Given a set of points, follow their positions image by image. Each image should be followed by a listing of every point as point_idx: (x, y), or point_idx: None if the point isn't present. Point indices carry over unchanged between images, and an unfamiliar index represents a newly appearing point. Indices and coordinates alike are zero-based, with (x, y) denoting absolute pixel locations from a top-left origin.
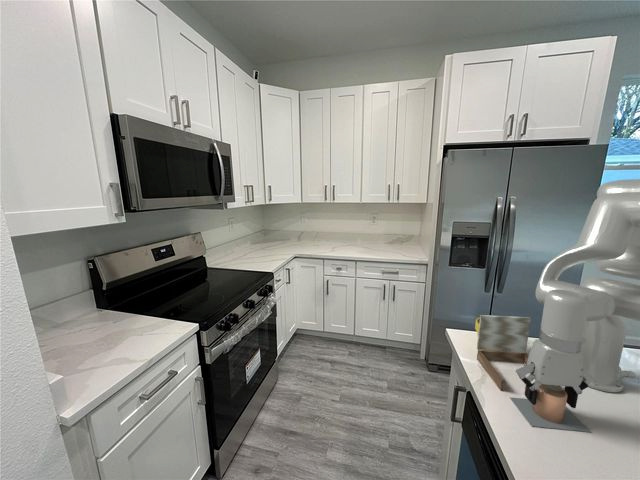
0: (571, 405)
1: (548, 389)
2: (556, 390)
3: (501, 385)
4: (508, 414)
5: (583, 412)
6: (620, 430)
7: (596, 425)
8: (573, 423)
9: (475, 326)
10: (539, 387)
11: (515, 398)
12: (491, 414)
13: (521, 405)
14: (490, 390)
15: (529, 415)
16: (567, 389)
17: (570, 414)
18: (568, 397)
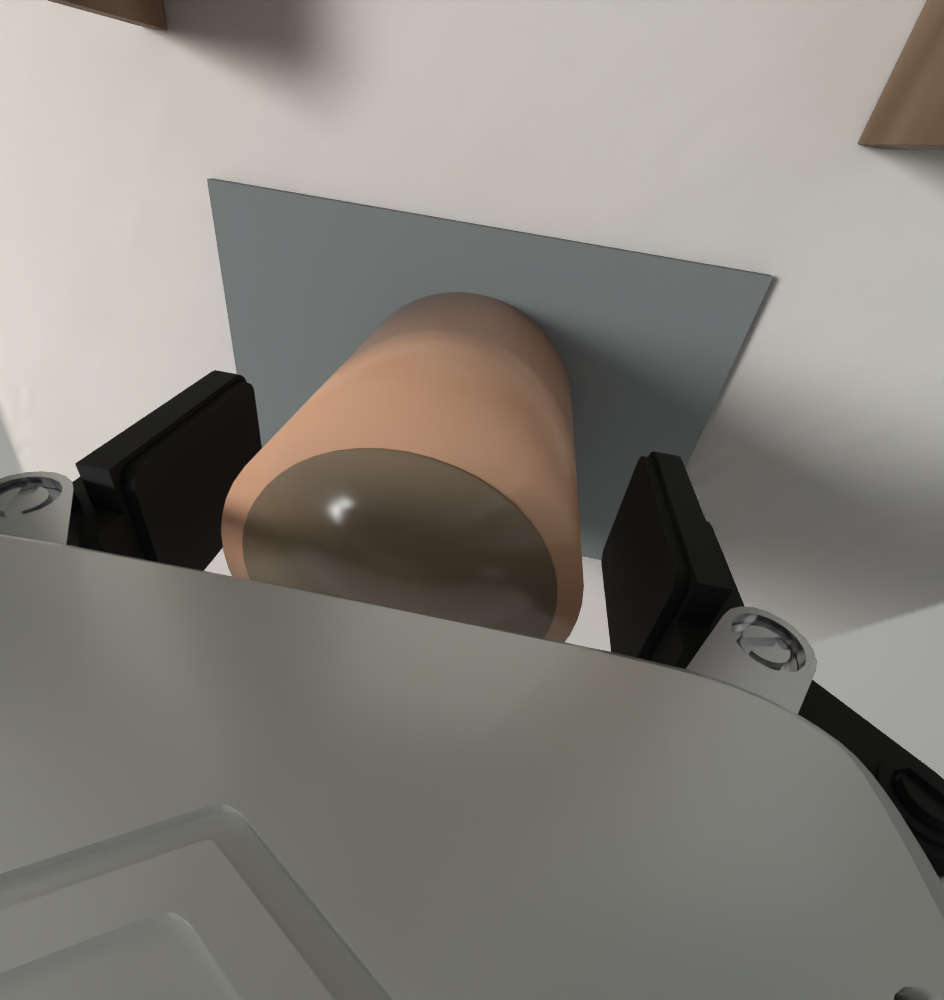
0: (605, 561)
1: (348, 589)
2: (447, 617)
3: (74, 5)
4: (134, 384)
5: (835, 413)
6: (888, 573)
7: (759, 526)
8: (583, 506)
9: None
10: (242, 549)
11: (264, 199)
12: (5, 374)
13: (277, 308)
14: (13, 12)
15: (288, 417)
16: (652, 609)
17: (659, 437)
18: (627, 562)
